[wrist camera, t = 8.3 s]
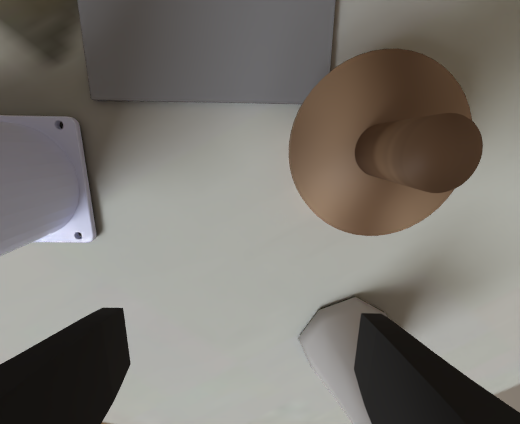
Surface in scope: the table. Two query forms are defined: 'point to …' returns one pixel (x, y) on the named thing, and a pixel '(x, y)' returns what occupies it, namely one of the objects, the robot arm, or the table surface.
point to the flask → (338, 353)
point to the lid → (382, 142)
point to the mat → (206, 49)
